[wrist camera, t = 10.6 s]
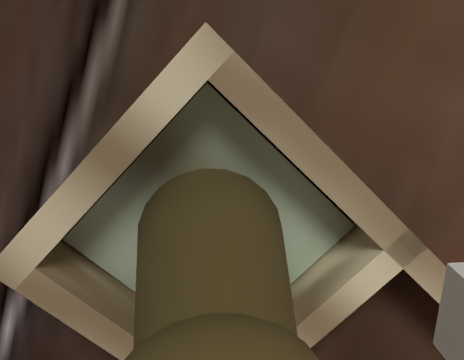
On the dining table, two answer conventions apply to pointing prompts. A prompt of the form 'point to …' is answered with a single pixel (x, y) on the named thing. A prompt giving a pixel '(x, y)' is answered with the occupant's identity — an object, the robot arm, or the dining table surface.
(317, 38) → the dining table surface
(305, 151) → the condiment rack
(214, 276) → the olive condiment shaker
